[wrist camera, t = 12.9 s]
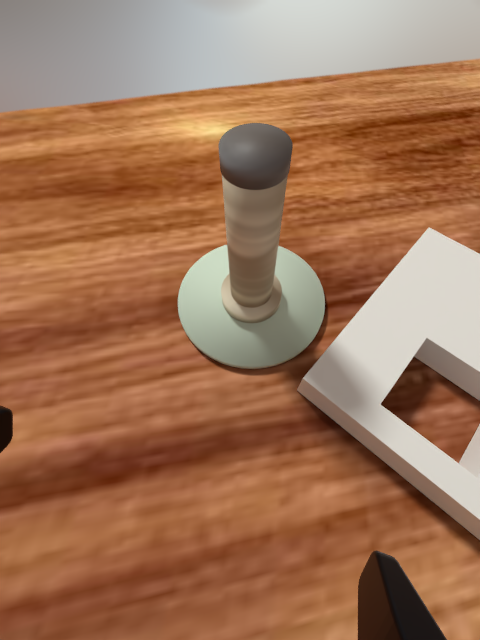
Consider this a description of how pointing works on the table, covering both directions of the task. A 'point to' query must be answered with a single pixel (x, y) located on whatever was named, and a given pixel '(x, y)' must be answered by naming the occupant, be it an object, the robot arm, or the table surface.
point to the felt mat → (251, 338)
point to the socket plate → (393, 357)
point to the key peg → (253, 217)
